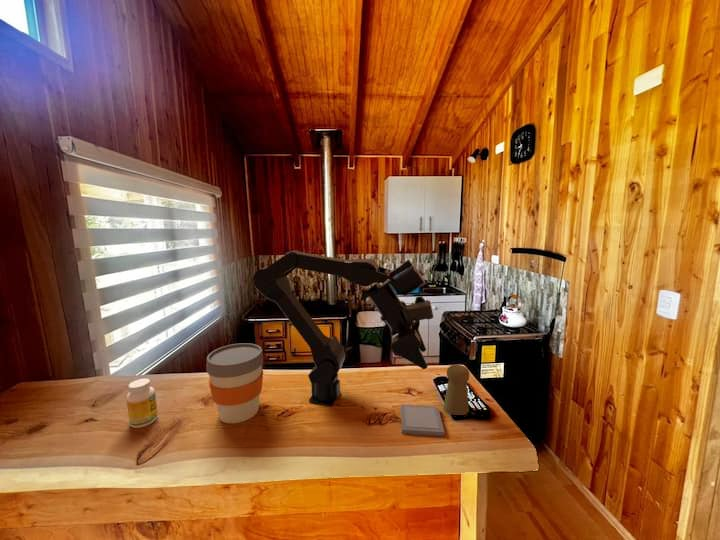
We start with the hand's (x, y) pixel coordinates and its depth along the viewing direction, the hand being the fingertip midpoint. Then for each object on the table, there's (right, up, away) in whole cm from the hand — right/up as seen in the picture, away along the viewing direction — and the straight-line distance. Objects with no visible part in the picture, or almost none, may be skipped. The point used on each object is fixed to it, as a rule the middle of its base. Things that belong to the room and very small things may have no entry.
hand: (425, 359), depth 72 cm
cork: (+8, -13, +2) cm, 15 cm away
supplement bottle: (-66, -14, -2) cm, 67 cm away
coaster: (-2, -14, -3) cm, 14 cm away
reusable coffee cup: (-45, -13, +1) cm, 47 cm away
